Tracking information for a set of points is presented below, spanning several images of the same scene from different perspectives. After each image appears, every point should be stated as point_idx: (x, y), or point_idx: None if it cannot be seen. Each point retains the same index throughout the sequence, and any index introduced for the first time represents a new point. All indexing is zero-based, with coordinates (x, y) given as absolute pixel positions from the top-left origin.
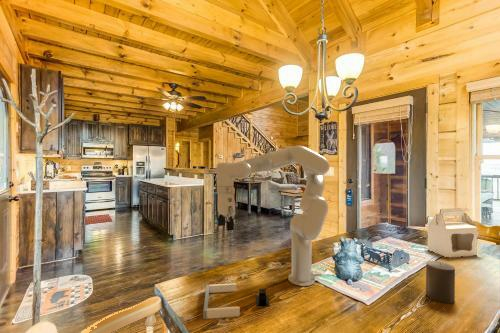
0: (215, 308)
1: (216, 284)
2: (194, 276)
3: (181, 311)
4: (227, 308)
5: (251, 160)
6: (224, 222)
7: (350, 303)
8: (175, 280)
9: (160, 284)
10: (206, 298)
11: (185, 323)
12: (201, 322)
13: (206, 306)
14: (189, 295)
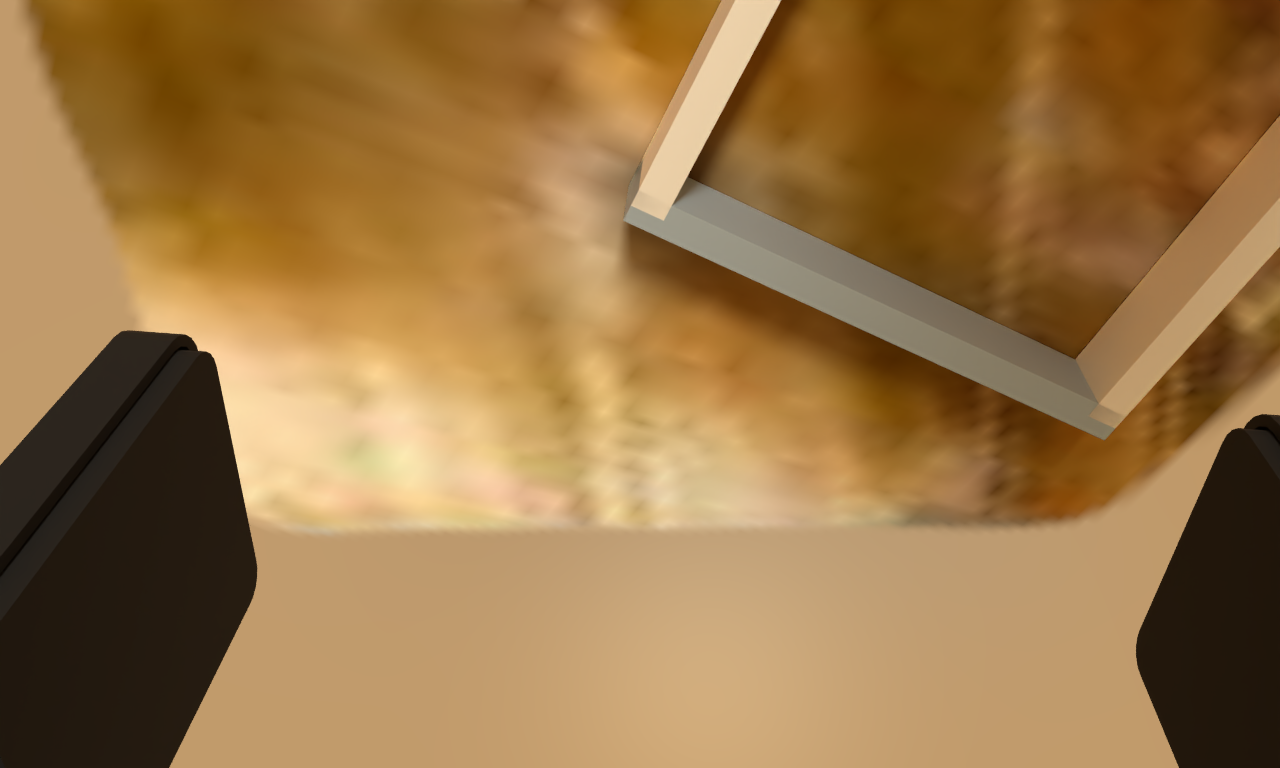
0: (1166, 340)
1: (686, 104)
2: (148, 157)
3: (836, 494)
4: (1272, 241)
5: None
6: (152, 444)
7: None
8: None
9: None
10: (922, 337)
11: (1022, 517)
12: None
13: (1063, 393)
14: (604, 359)
